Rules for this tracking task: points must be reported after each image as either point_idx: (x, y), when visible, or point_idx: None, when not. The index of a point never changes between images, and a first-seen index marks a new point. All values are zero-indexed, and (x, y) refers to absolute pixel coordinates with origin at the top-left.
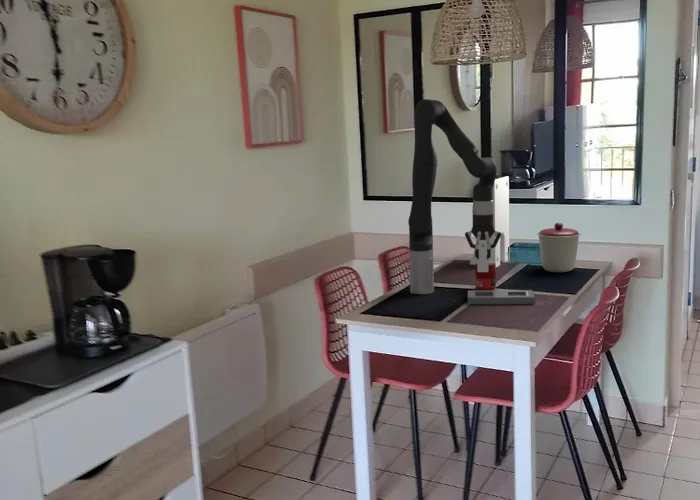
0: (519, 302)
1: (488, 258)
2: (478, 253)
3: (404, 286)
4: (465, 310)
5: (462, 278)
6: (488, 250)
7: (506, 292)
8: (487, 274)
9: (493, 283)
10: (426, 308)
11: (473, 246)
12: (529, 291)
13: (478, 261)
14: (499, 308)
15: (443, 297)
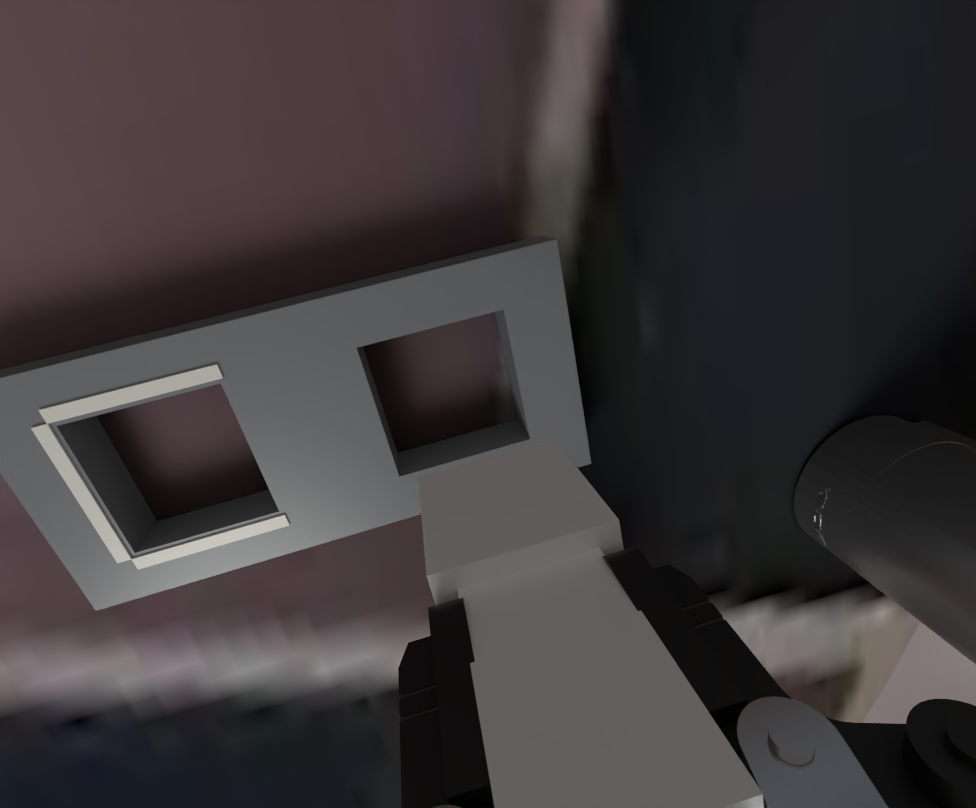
0: (119, 342)
1: (432, 611)
2: (660, 630)
3: None
4: (522, 13)
5: None
6: (450, 772)
7: (280, 487)
8: None
9: None
10: (833, 27)
11: (903, 773)
12: (99, 566)
13: (591, 512)
14: (246, 151)
15: (728, 386)
